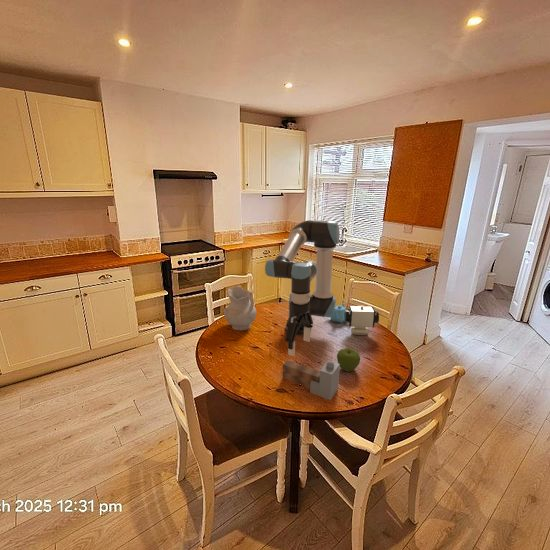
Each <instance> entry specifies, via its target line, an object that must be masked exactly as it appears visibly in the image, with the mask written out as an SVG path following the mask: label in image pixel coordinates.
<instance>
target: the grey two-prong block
mask: <svg viewBox="0 0 550 550" xmlns="http://www.w3.org/2000/svg"><path fill="white" fill-rule="evenodd" d="M340 368H341V367H340V364H339V363H338V362H335V361H332V360H329V359H328V360H327V362H325V364H324V365H323V366H322V368H321V369H320V370H319V371H320V383H318V382H316V381H313V380H312V381H311V382H310V388H309V391H310V392H311V393H310V392H309V393H310V394H312V395H313V394H314V395H315V394H316V395H315V396H318V395H319V396H318V397H320V396H321V397H320V398H323V399H326V400H328V399H329V400H328V401H331V400H332V399H333V397H334V396H335V394H336V393H337V391H338V390H339V384H340V383H339V381H340Z"/></svg>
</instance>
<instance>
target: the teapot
mask: <svg viewBox="0 0 550 550" xmlns="http://www.w3.org/2000/svg"><path fill="white" fill-rule="evenodd" d="M345 304H346V302H345V301H344V302H343V303H342V305H340V304H339V305H335V308H334V311H333V315H332V316H331V317H330V319H331V320H332V322H337V323H339V324H343V323H345V320H344V313H345V310H347V308H346V305H345Z"/></svg>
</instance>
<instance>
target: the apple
mask: <svg viewBox="0 0 550 550" xmlns="http://www.w3.org/2000/svg"><path fill="white" fill-rule="evenodd" d="M336 358H337V363H338V364H340V368H341V370H343V371H345V372H354V371H355V370H356V369H357V368H358V366H359V365H360V362H361V356H360V353H359V352H357V351H356V350H355V349H354V348H349V347H345V348H342V349H339V351H338V352H337V354H336Z"/></svg>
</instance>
